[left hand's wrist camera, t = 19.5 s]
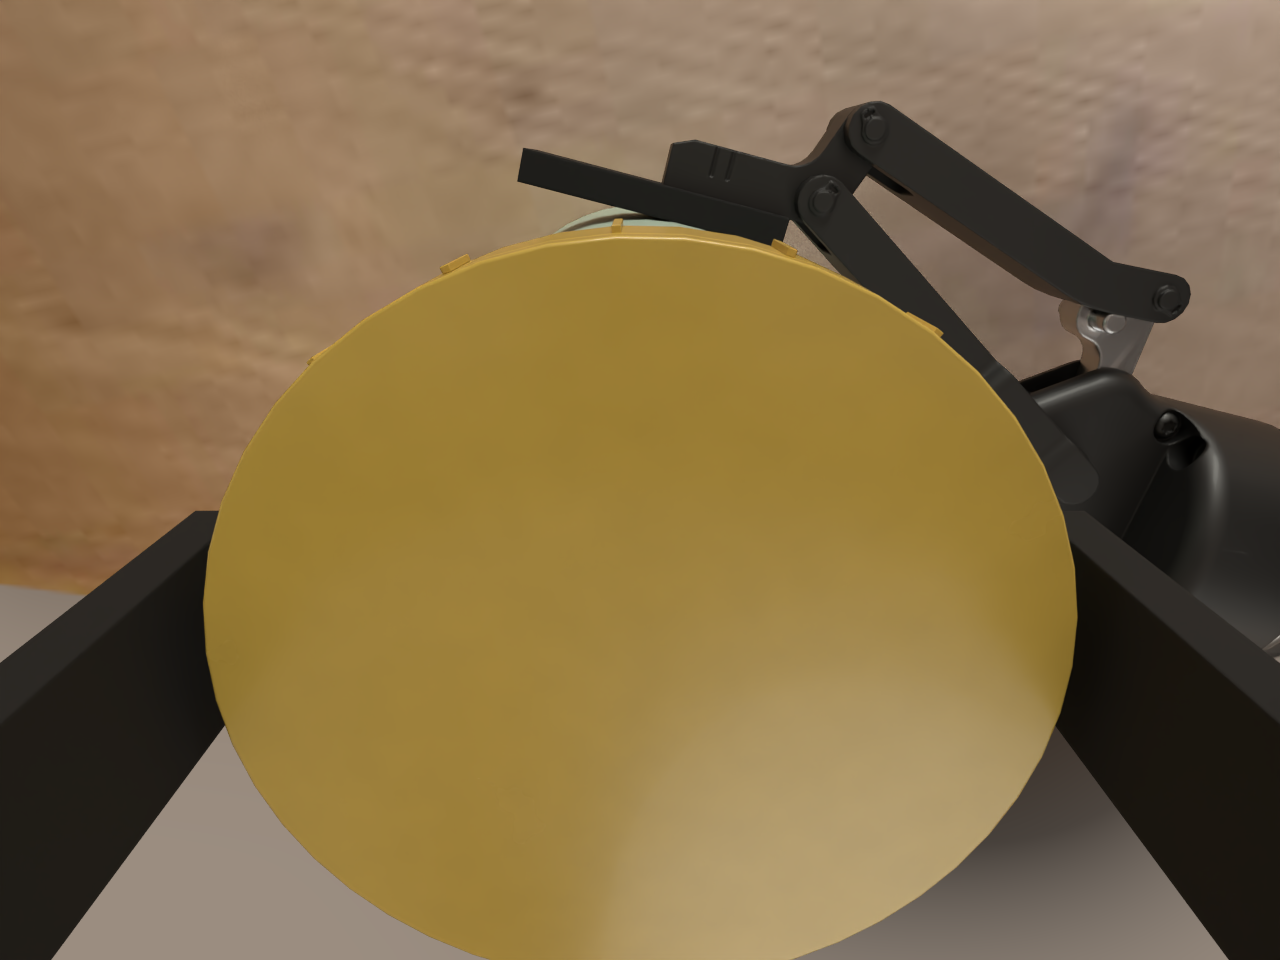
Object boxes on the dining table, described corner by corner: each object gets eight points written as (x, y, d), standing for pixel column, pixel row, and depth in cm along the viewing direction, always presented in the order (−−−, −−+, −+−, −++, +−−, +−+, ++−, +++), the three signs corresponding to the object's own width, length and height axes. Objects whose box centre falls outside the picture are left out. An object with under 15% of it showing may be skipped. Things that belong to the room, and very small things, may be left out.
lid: (423, 42, 9) (380, 19, 8) (1190, 469, 11) (1278, 517, 10) (164, 745, 13) (100, 824, 11) (774, 974, 15) (789, 1067, 13)
